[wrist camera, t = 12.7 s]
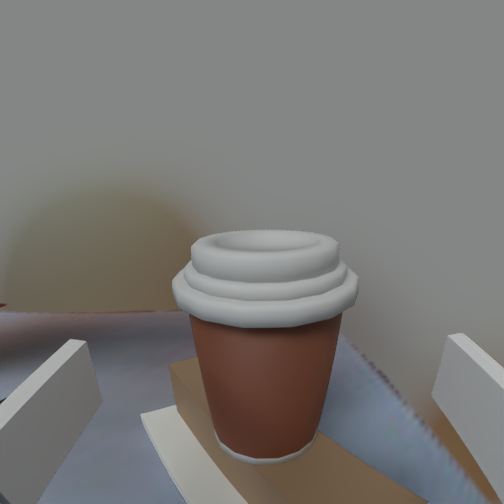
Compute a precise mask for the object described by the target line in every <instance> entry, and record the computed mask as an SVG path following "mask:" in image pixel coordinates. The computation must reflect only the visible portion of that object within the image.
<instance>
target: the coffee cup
mask: <svg viewBox="0 0 504 504" xmlns="http://www.w3.org/2000/svg"><path fill="white" fill-rule="evenodd" d="M339 247H340V245H339V244H338V243H337V242H336V241H335V240H334V239H332V238H331V237H330V236H326V235H322V234H318V233H312V232H304V231H294V230H293V231H292V230H246V231H233V232H226V233H219V234H213V235H210V236H207V237H203V238H200V239H199V240H198V241H196V242H195V243H194V244H193V245H192V247H191V256H192V260H191V261H190V262H189V263H188V264H187V265H186V266H185V268H184V269H182V270H181V271H180V272H179V273H178V274H177V276H176V277H175V278H174V279H173V281H172V289H173V296H174V298H175V301H176V303H177V305H178V307H179V308H180V309H182V310H184V311H186V312H188V313H189V315H190V321H191V326H192V331H193V337H194V342H195V347H196V352H197V356H198V361H199V366H200V371H201V375H202V380H203V384H204V389H205V393H206V397H207V402H208V406H209V410H210V414H211V418H212V422H213V426H214V432H215V436H216V439H217V441H218V443H219V445H220V448H221V449H223V450H224V451H225V452H226V453H228V454H229V455H230V456H231V457H233V458H234V459H236V460H239V461H243V462H246V463H249V464H252V465H279V464H282V463H285V462H288V461H291V460H294V459H297V458H299V457H300V456H301V455H302V454H303V453H305V452H306V451H307V450H308V449H309V448H311V447H312V444H313V442H314V440H315V437H316V435H317V430H318V425H319V421H320V417H321V413H322V409H323V405H324V401H325V397H326V392H327V388H328V384H329V379H330V375H331V370H332V365H333V360H334V355H335V350H336V345H337V340H338V335H339V329H340V324H341V318H342V312H343V311H345V310H347V309H348V308H350V307H352V306H353V305H354V304H355V301H356V298H357V295H358V289H359V278H358V276H357V275H356V274H355V273H354V272H353V271H352V270H351V269H350V268H348V267H347V266H346V264H345V263H344V262H343V261H342V260H340V258H339V249H340V248H339Z"/></svg>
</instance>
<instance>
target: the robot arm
mask: <svg viewBox="0 0 504 504" xmlns="http://www.w3.org/2000/svg"><path fill="white" fill-rule="evenodd" d="M431 396H432V397H433V399H434V400H435V401H436V403H437V404H438V406H439V407H440V408H441V410H442V411H443V413H444V414H445V415H446V417H447V418H448V420H449V421H450V423H451V424H452V426H453V427H454V429H455V430H456V432H457V433H458V435H459V436H460V438H461V439H462V440H463V442H464V443H465V445H466V447H467V448H468V450H469V451H470V453H471V454H472V456H473V457H474V459H475V460H476V462H477V463H478V465H479V466H480V468H481V470H482V471H483V472H484V474H485V476H486V477H487V479H488V481H489V482H490V484H491V486H492V487H493V489H494V490H495V492H496V494H497V495H498V497H499V499H500V500H501V502H502V504H504V368H503V367H502V366H500V365H499V364H498V363H497V362H496V361H494V359H492V358H491V357H490V356H489V355H488V354H487V353H486V352H484V351H483V350H482V349H481V348H480V347H479V346H477V345H476V344H475V343H474V342H473V341H472V340H471V339H469V338H468V337H467V336H466V335H464V334H463V333H459V334H453V335H447V339H446V343H445V347H444V351H443V355H442V359H441V363H440V367H439V370H438V374H437V377H436V381H435V384H434V387H433V391H432V394H431ZM102 401H103V398H102V395H101V392H100V389H99V385H98V382H97V379H96V375H95V372H94V368H93V365H92V361H91V357H90V353H89V349H88V345H87V341H82V340H74V339H70V340H69V341H68V342H66V343H65V344H64V345H63V346H62V347H61V348H60V349H59V350H58V351H56V352H55V353H54V354H53V355H52V356H51V357H50V358H49V359H48V360H47V361H45V362H44V363H43V364H42V365H41V366H40V367H39V368H38V369H37V370H36V371H35V372H34V373H33V374H31V375H30V376H29V377H28V378H27V379H26V380H25V381H24V382H23V383H22V384H21V385H20V386H19V387H18V388H17V389H16V390H15V391H14V392H12V393H11V394H10V395H9V396H8V397H7V398H5V399H3V400H1V401H0V502H1V504H37V502H38V500H39V499H40V497H41V496H42V494H43V492H44V491H45V489H46V487H47V486H48V484H49V483H50V481H51V479H52V478H53V476H54V475H55V473H56V472H57V470H58V468H59V467H60V465H61V464H62V462H63V461H64V459H65V457H66V456H67V454H68V453H69V451H70V450H71V448H72V447H73V445H74V443H75V442H76V440H77V439H78V437H79V436H80V434H81V433H82V431H83V430H84V428H85V427H86V425H87V424H88V422H89V421H90V419H91V418H92V416H93V415H94V413H95V412H96V410H97V409H98V407H99V406H100V404H101V403H102Z"/></svg>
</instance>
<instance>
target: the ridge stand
mask: <svg viewBox="0 0 504 504" xmlns="http://www.w3.org/2000/svg"><path fill="white" fill-rule="evenodd" d="M169 368H170V374H171V380H172V385H173V391H174V396H175V402H176V405H173V406H169V407H166V408H162V409H159V410H155V411H151V412H147V413H143V414H140V416H141V419H142V422H143V426H144V428H145V430H146V432H147V434H148V436H149V438H150V440H151V442H152V444H153V446H154V448H155V449H156V451H157V453H158V455H159V457H160V459H161V461H162V463H163V464H164V466H165V468H166V470H167V471H168V473H169V475H170V477H171V478H172V480H173V482H174V484H175V485H176V487H177V489H178V490H179V492H180V493H181V495H182V497H183V498H184V500H185V502H186V503H187V504H427V503H428V501H427V500H425V499H423V498H421V497H420V496H418V495H416V494H414V493H413V492H411V491H409V490H408V489H406V488H404V487H403V486H401V485H399V484H398V483H396V482H394V481H393V480H391V479H390V478H388V477H386V476H385V475H383V474H382V473H380V472H378V471H377V470H375V469H374V468H372V467H371V466H369V465H368V464H366V463H365V462H363V461H362V460H360V459H359V458H357V457H356V456H354V455H353V454H351V453H350V452H348V451H347V450H346V449H344V448H343V447H341V446H340V445H338V444H337V443H336V442H334V441H333V440H331V439H330V438H329V437H327V436H326V435H324V434H323V433H322V432H320V431H319V430H317V435H316V437H315V440H314V442H313V444H312V447H311V448H309V449H308V450H307V451H306V452H305V453H303V454H302V455H301V456H300V457H299V458H297V459H294V460H291V461H288V462H285V463H282V464H279V465H252V464H249V463H246V462H243V461H239V460H236V459H234V458H233V457H231V456H230V455H229V454H228V453H226V452H225V451H224V450H223V449H221V448H220V445H219V443H218V441H217V439H216V436H215V432H214V426H213V422H212V418H211V414H210V410H209V406H208V402H207V397H206V393H205V389H204V384H203V380H202V375H201V371H200V366H199V361H198V356H197V357H193V358H189V359H186V360H182V361H178V362H174V363H170V364H169Z"/></svg>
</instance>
